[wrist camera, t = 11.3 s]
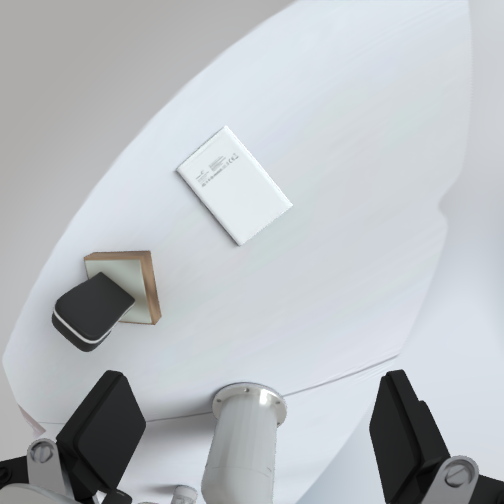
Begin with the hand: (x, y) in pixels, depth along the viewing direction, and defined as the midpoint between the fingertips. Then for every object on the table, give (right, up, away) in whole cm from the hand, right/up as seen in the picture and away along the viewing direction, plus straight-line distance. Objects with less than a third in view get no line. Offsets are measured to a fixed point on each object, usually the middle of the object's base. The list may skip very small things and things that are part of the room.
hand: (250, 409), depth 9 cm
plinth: (-18, +1, +31) cm, 36 cm away
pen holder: (-45, -78, +57) cm, 106 cm away
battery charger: (-19, 0, +28) cm, 34 cm away
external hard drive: (-2, +14, +27) cm, 30 cm away
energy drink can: (-17, -58, +48) cm, 77 cm away
